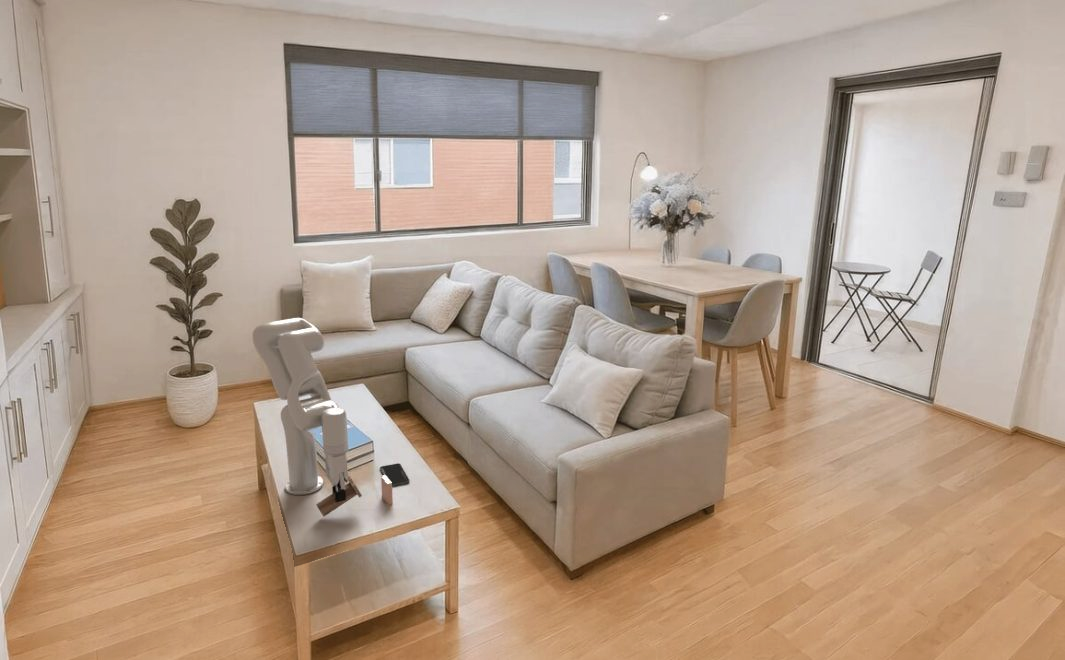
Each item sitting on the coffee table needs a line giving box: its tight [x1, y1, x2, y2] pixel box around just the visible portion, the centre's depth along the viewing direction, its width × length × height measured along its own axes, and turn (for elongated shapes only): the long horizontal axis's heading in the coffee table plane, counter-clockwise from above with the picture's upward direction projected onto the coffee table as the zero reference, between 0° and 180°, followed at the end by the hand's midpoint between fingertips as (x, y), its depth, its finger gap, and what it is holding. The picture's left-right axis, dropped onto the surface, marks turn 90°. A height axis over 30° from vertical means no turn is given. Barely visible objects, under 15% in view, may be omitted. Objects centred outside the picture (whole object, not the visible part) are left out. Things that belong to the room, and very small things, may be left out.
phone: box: [379, 463, 410, 488], centre depth 229 cm, size 8×1×15 cm
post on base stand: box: [315, 475, 363, 517], centre depth 202 cm, size 7×13×5 cm, turn 122°
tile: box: [380, 475, 394, 506], centre depth 211 cm, size 6×2×8 cm, turn 32°
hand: (339, 498), depth 202 cm, fingers closed on post on base stand
